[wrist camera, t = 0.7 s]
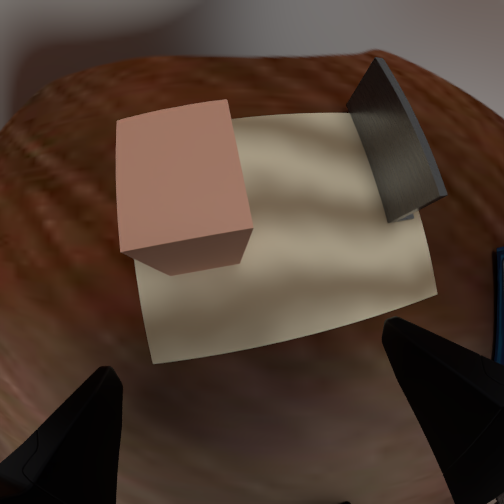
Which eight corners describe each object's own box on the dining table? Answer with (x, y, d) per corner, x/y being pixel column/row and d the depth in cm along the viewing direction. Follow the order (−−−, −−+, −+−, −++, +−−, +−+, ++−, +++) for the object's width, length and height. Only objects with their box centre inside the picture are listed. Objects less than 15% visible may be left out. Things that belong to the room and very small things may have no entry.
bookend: (411, 219, 22) (464, 193, 15) (387, 223, 22) (440, 195, 15) (369, 106, 24) (401, 62, 17) (346, 105, 24) (375, 57, 17)
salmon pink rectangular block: (239, 263, 20) (253, 227, 10) (170, 276, 20) (120, 252, 10) (225, 185, 21) (227, 99, 11) (159, 196, 20) (116, 120, 11)
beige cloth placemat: (430, 294, 22) (437, 294, 21) (156, 361, 19) (153, 363, 18) (377, 119, 25) (382, 114, 24) (130, 144, 22) (127, 138, 21)
